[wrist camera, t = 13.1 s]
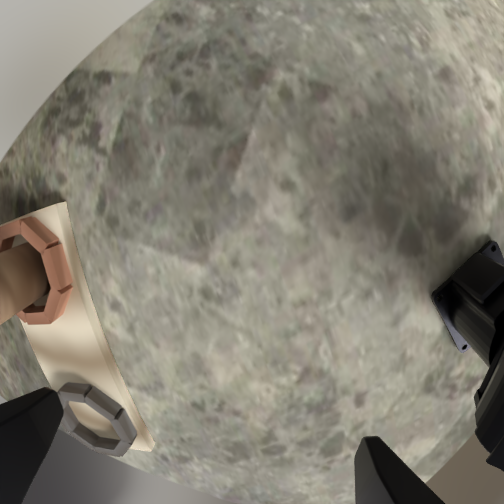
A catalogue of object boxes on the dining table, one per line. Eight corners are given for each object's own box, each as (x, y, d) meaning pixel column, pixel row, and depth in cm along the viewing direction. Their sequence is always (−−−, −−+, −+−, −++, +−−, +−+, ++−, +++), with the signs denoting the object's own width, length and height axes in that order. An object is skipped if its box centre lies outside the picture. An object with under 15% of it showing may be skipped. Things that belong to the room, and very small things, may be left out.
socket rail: (2, 225, 21) (-19, 231, 18) (66, 201, 20) (42, 206, 17) (88, 433, 26) (77, 449, 24) (155, 443, 25) (146, 462, 22)
